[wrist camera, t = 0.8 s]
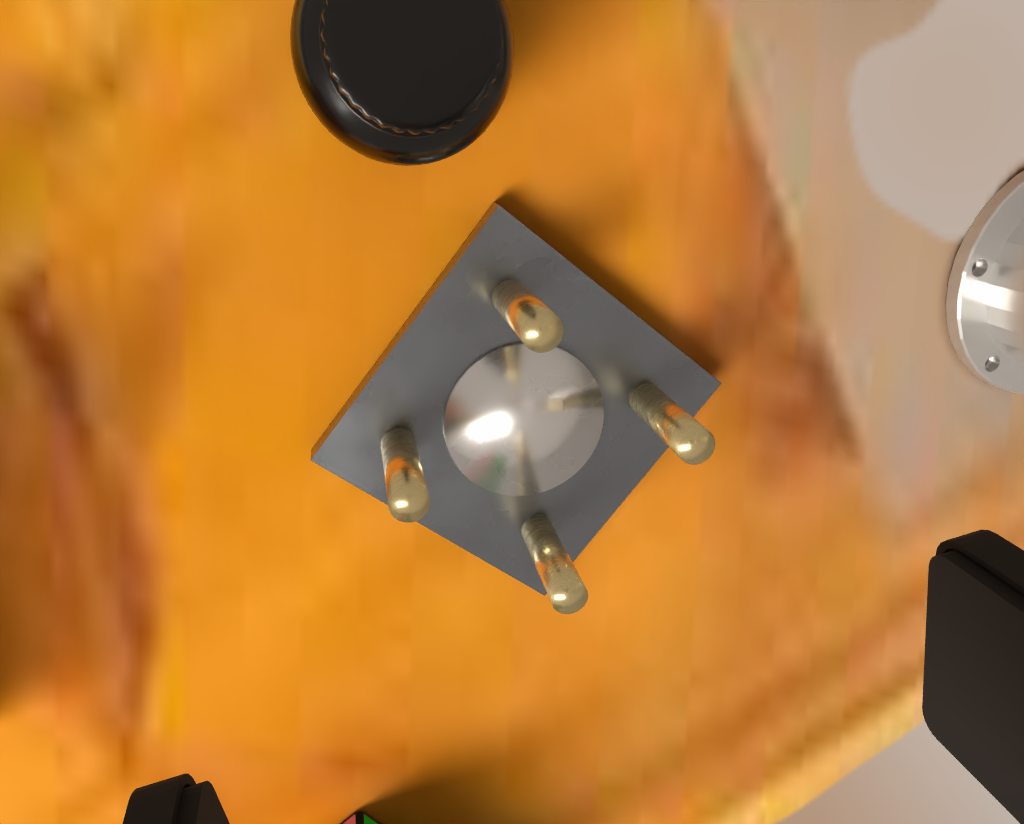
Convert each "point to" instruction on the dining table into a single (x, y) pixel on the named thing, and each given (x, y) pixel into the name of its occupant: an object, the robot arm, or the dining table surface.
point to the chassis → (518, 409)
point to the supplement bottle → (403, 72)
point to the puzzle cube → (360, 819)
